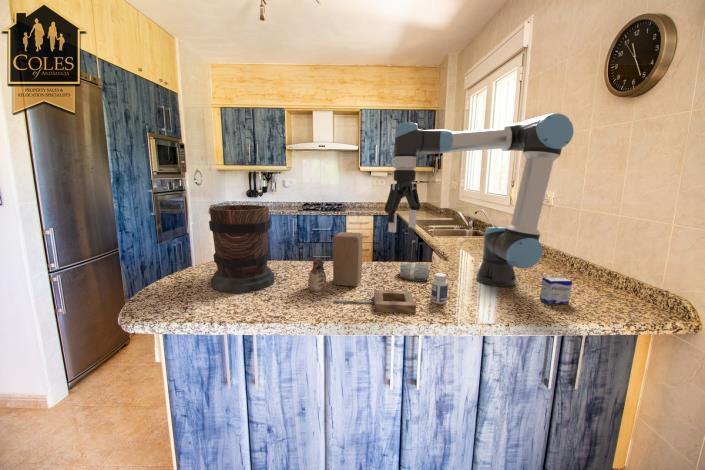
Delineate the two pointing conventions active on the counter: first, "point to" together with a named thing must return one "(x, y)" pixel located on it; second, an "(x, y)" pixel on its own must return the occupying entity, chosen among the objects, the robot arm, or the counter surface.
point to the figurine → (317, 277)
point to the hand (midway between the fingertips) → (402, 229)
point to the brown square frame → (389, 306)
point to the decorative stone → (414, 271)
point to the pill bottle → (439, 289)
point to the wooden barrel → (241, 248)
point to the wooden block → (347, 259)
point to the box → (555, 290)
